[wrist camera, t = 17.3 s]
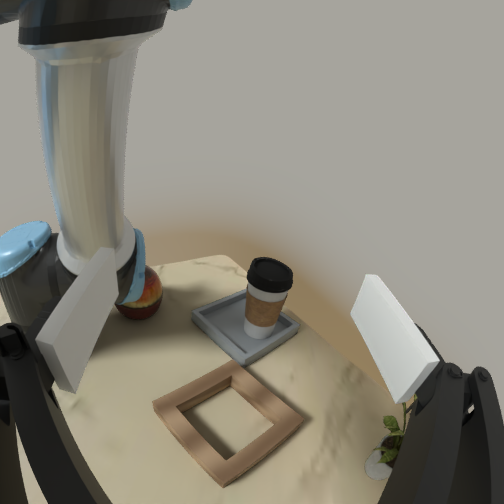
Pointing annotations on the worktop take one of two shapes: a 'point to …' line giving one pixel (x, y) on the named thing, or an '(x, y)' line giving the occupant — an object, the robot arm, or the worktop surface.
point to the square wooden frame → (251, 391)
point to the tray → (239, 329)
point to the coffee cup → (265, 295)
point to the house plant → (386, 449)
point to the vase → (145, 298)
